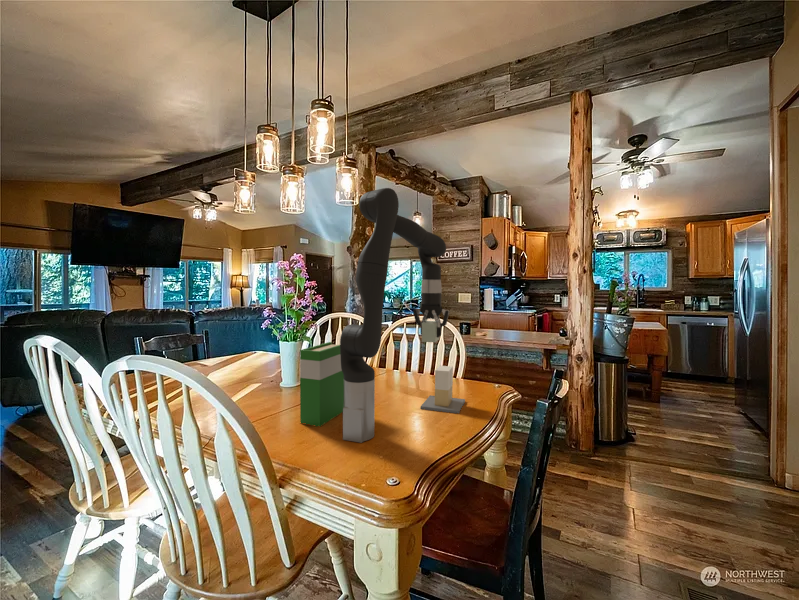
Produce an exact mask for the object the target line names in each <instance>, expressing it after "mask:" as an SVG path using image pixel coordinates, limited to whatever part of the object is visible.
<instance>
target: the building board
mask: <svg viewBox="0 0 799 600" xmlns="http://www.w3.org/2000/svg"><path fill="white" fill-rule="evenodd" d="M465 403H466V399H465V398H457V397H453V385H452V386H451V388H450V389H449V390H439V389H435V388H434V395H432V394H431V395H428V397H427V398H426V399H425V400H424V402H423V403H422V404H421V405H420V410H424V409H425V410H426V411H427V410H428V411H433V410H434V411H433V412H441V411H442V412H443V413H449V412H450V413H449V414H457V413H458V415H459V414H460V412H461V411H462V409H463V407H464V405H465ZM462 406H463V407H462ZM461 408H462V409H461ZM460 410H461V411H460Z"/></svg>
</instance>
